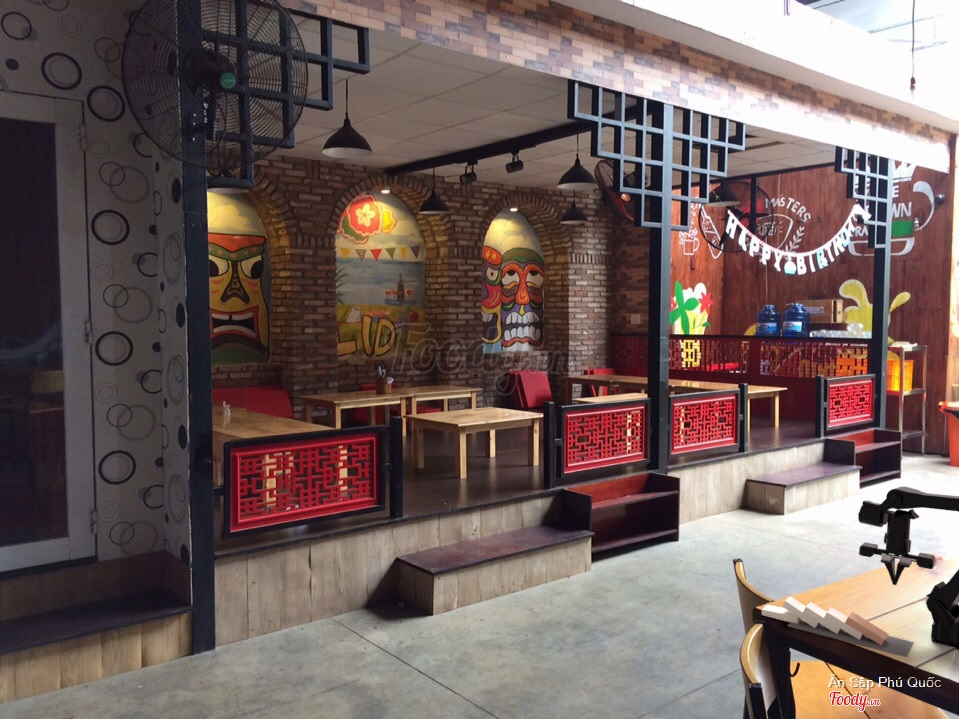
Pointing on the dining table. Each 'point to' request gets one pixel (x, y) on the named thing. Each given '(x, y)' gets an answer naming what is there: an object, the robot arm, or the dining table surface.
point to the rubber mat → (888, 645)
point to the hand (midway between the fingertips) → (894, 584)
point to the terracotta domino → (866, 628)
